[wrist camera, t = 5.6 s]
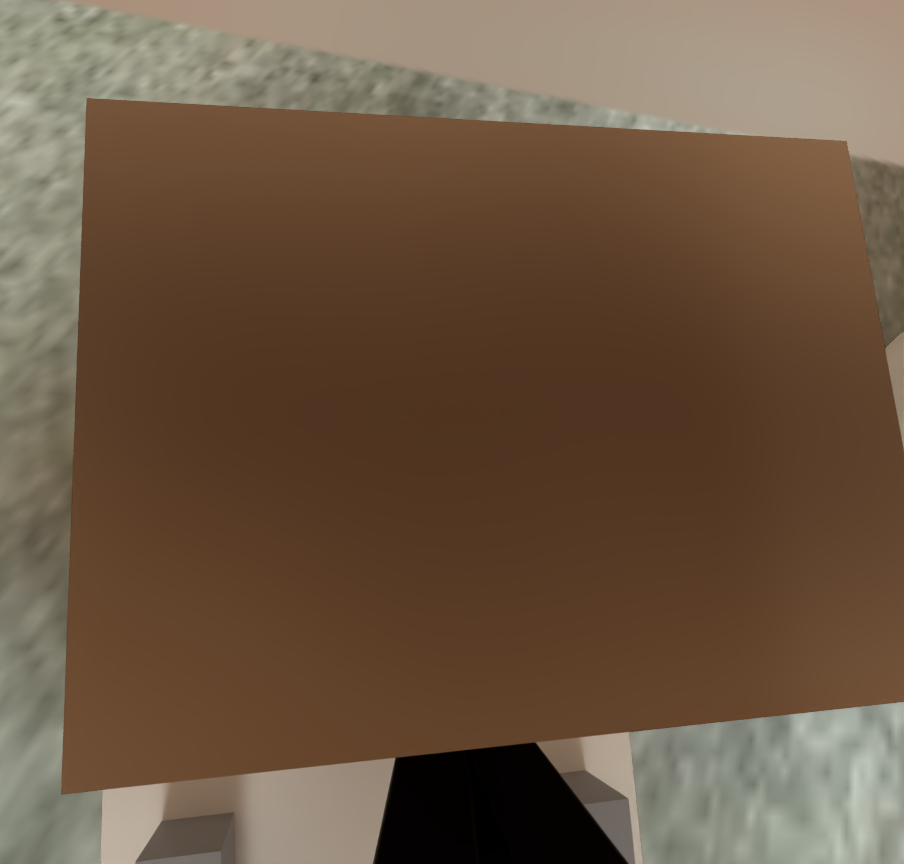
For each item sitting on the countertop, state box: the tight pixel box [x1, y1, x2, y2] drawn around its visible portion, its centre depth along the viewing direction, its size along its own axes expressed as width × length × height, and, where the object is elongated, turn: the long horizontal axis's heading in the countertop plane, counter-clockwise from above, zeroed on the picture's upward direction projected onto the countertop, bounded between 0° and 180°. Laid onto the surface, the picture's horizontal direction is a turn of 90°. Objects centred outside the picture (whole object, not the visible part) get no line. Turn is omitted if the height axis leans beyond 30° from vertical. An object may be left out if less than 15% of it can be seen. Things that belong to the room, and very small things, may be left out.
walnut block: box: [61, 98, 904, 794], centre depth 12 cm, size 4×6×13 cm
